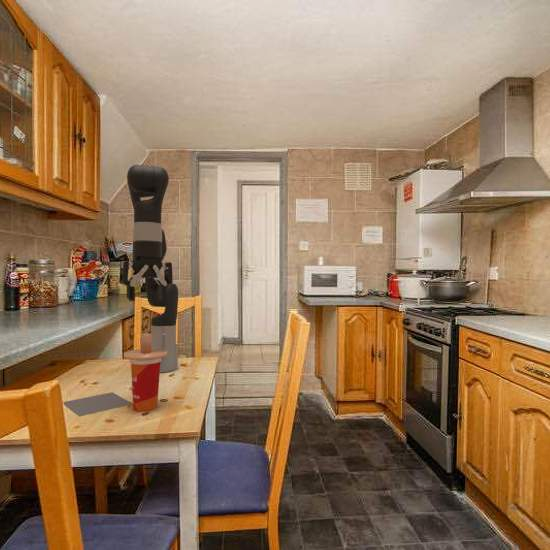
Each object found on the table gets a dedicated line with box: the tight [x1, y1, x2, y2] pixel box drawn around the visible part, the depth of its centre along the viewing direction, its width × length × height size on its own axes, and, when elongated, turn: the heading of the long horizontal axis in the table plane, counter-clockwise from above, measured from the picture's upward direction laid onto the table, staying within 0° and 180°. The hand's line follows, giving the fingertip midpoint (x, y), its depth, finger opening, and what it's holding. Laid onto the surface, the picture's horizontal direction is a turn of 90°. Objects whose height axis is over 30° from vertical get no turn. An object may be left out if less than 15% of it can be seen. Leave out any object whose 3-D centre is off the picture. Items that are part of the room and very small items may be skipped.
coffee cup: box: [129, 358, 162, 413], centre depth 105 cm, size 8×8×15 cm
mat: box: [63, 391, 133, 417], centre depth 108 cm, size 14×14×1 cm
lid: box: [123, 332, 167, 360], centre depth 105 cm, size 11×11×6 cm
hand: (146, 300), depth 106 cm, fingers open, 8 cm apart
